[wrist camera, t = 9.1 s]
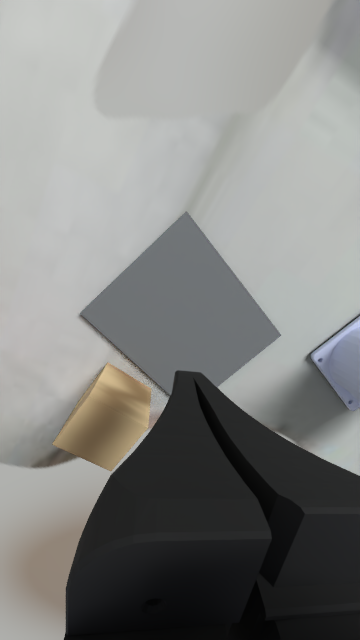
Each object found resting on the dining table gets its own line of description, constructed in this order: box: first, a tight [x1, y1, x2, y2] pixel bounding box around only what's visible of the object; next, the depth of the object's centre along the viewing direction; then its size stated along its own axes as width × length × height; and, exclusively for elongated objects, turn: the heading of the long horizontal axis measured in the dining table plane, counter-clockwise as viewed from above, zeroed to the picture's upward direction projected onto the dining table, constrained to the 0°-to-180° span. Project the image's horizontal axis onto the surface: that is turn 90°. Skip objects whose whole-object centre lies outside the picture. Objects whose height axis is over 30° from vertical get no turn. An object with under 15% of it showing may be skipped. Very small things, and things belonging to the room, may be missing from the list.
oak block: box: [52, 363, 151, 471], centre depth 17 cm, size 5×5×5 cm
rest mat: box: [80, 211, 281, 395], centre depth 18 cm, size 14×12×1 cm
